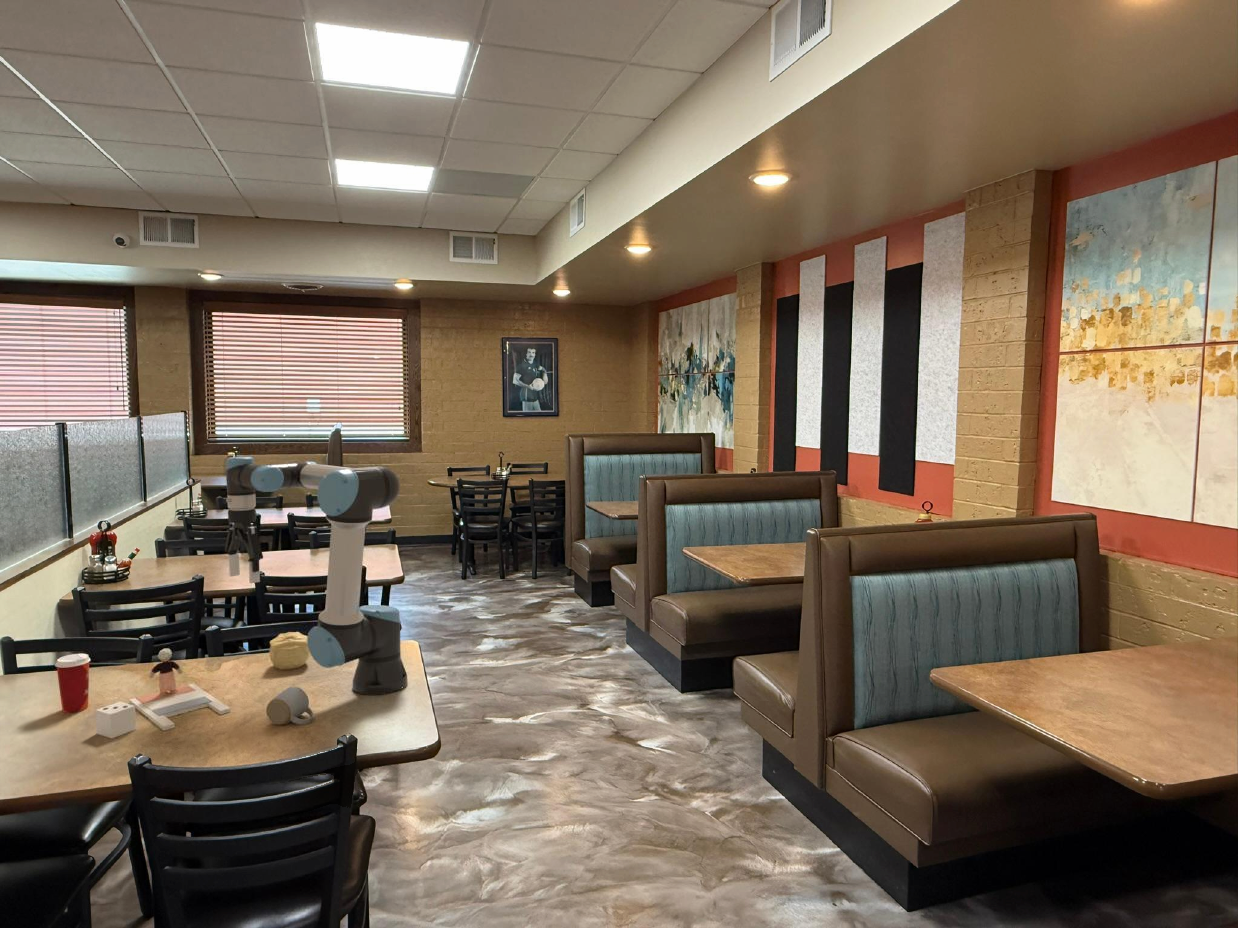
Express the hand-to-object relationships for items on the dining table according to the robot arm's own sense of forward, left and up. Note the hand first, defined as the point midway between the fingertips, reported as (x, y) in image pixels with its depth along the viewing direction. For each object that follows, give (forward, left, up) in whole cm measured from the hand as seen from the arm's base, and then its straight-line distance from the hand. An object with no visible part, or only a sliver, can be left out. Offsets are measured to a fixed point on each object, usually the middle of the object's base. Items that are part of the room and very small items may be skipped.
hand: (244, 579), depth 234 cm
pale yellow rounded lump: (-5, -11, -29) cm, 31 cm away
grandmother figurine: (-5, +24, -27) cm, 37 cm away
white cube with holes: (-20, +40, -28) cm, 53 cm away
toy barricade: (-15, +24, -28) cm, 40 cm away
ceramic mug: (-45, +7, -29) cm, 54 cm away
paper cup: (+4, +43, -29) cm, 52 cm away
